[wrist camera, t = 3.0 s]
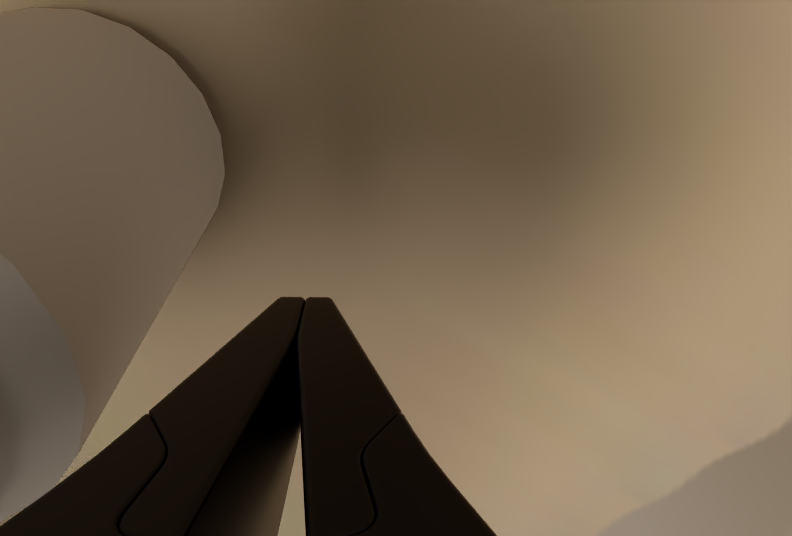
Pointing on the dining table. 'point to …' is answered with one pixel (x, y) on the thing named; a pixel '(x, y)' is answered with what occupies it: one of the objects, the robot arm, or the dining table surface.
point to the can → (87, 223)
